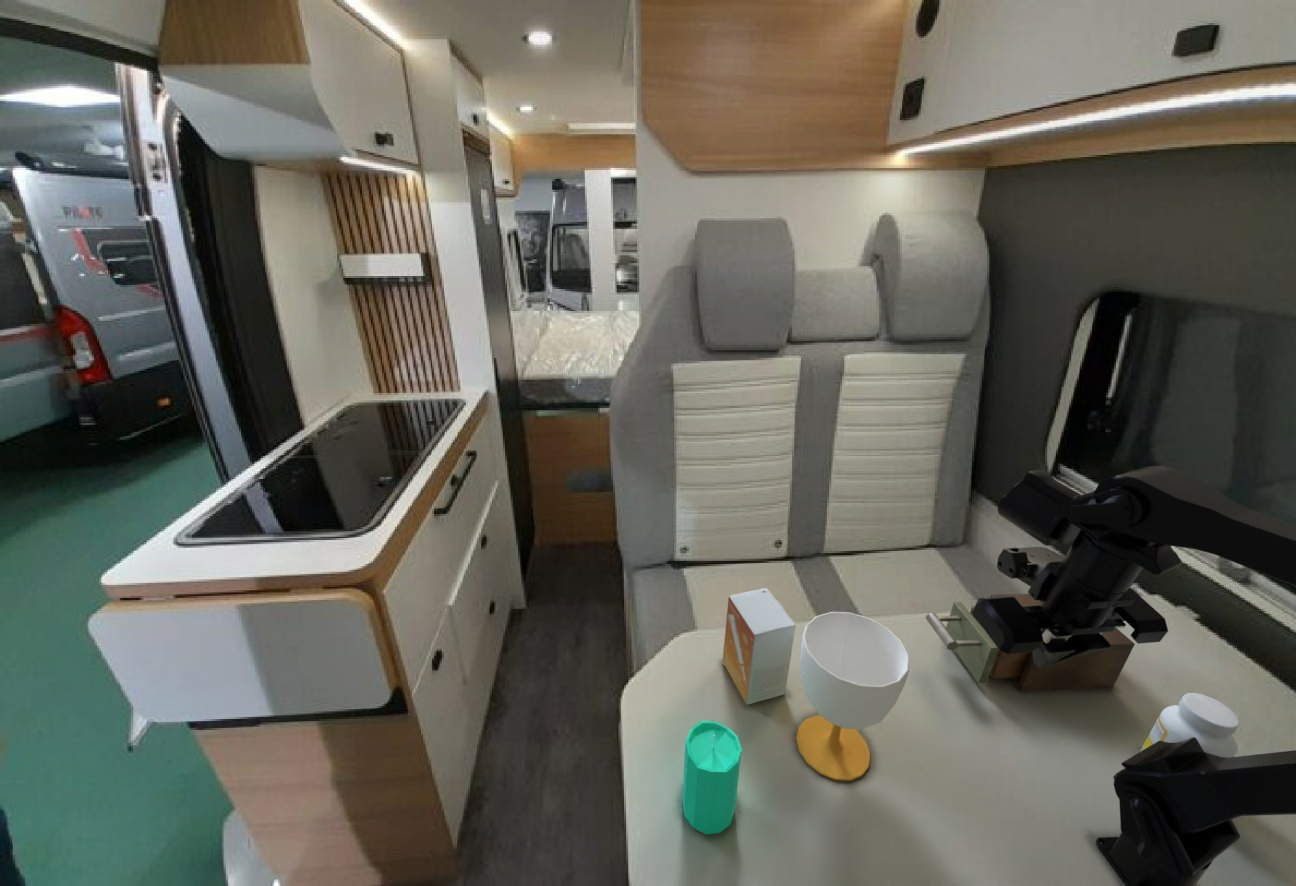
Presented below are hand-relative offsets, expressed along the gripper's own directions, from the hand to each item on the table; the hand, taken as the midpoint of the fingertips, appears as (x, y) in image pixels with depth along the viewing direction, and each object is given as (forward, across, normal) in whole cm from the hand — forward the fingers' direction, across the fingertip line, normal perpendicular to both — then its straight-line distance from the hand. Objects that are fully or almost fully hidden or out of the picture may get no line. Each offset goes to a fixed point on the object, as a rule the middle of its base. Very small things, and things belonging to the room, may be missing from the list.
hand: (1038, 664), depth 65 cm
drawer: (+14, -5, -10) cm, 18 cm away
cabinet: (+15, -14, -10) cm, 22 cm away
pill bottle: (+12, -16, +8) cm, 22 cm away
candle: (+11, +41, +7) cm, 43 cm away
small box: (+14, +31, -10) cm, 36 cm away
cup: (+12, +24, +1) cm, 27 cm away
